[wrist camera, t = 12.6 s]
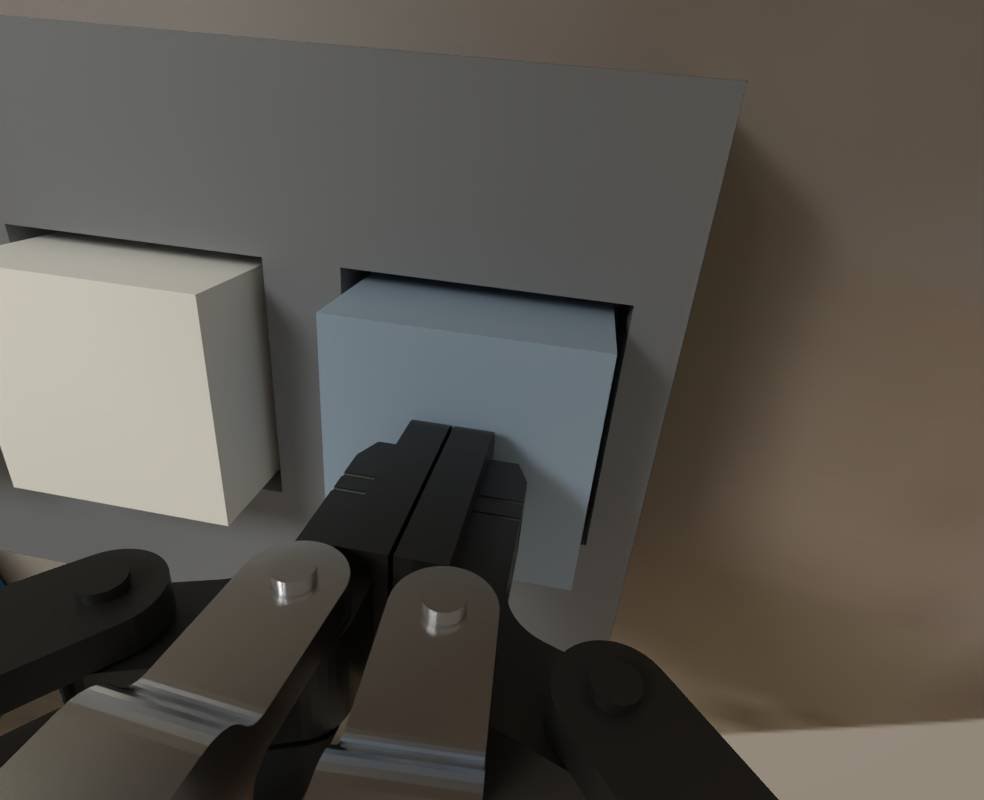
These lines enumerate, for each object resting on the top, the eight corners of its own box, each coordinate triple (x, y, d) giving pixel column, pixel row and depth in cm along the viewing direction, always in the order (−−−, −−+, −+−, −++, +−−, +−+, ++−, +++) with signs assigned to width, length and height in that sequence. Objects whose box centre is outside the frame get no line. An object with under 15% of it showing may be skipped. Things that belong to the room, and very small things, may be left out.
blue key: (376, 270, 13) (316, 312, 10) (613, 300, 12) (617, 354, 9) (376, 468, 15) (327, 546, 12) (576, 501, 14) (571, 590, 12)
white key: (69, 229, 13) (-62, 258, 11) (279, 256, 13) (195, 295, 10) (114, 423, 16) (13, 487, 13) (294, 453, 15) (228, 526, 12)
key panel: (-187, 8, 15) (-432, -23, 11) (705, 89, 13) (747, 81, 9) (-29, 449, 21) (-158, 518, 17) (602, 560, 18) (602, 667, 15)
